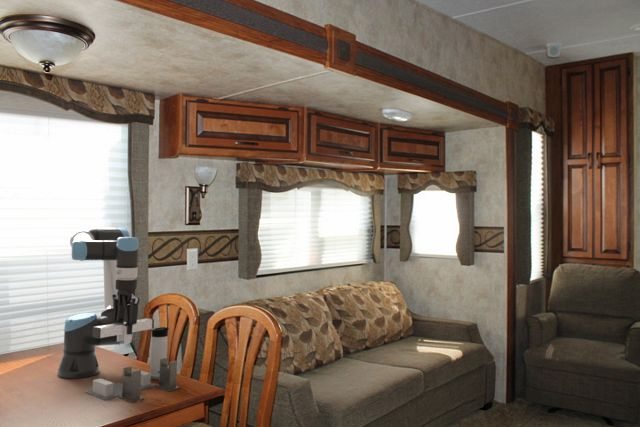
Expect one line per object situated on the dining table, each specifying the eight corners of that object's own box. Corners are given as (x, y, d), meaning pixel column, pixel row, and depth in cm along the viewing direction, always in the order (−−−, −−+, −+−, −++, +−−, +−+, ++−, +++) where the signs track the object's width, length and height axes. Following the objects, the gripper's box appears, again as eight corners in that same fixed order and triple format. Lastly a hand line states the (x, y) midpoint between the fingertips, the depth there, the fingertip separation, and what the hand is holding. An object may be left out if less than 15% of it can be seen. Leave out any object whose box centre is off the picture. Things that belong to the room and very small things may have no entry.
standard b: (155, 387, 208) (156, 359, 207) (165, 384, 212) (167, 356, 212) (169, 391, 203) (170, 363, 203) (179, 388, 207) (180, 360, 207)
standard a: (117, 397, 194) (119, 368, 194) (130, 394, 199) (131, 365, 198) (131, 403, 190) (133, 372, 190) (144, 399, 194) (145, 369, 194)
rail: (92, 336, 195) (92, 326, 195) (147, 327, 214) (148, 317, 214) (98, 338, 193) (98, 328, 193) (153, 328, 212) (154, 319, 212)
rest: (85, 392, 198) (85, 379, 198) (137, 378, 216) (137, 367, 216) (104, 400, 191) (105, 387, 191) (156, 385, 209) (157, 373, 209)
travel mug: (162, 380, 216) (164, 329, 216) (146, 378, 217) (148, 328, 217) (169, 375, 222) (171, 326, 222) (154, 374, 223) (156, 325, 223)
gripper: (104, 277, 205) (101, 339, 205) (131, 281, 196) (129, 347, 196) (121, 275, 211) (119, 336, 211) (149, 280, 202) (146, 343, 202)
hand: (124, 341), depth 204 cm, fingers closed on rail, 3 cm apart
